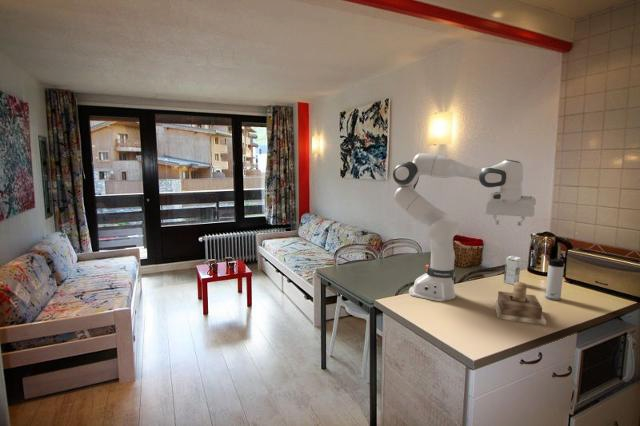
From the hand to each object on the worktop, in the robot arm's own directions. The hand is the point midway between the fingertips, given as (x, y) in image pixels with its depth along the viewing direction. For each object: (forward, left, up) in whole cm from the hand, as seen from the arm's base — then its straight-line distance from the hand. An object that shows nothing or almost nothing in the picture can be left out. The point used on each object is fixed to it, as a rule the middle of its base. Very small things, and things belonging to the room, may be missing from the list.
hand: (508, 225), depth 171 cm
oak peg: (+5, -13, -36) cm, 38 cm away
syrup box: (+8, +30, -37) cm, 49 cm away
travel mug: (+24, +12, -37) cm, 46 cm away
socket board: (+5, -13, -37) cm, 40 cm away
